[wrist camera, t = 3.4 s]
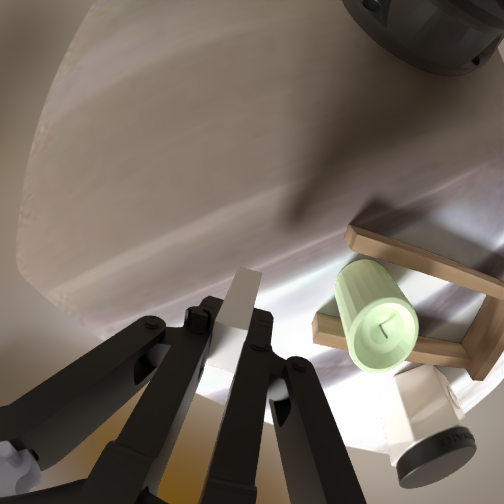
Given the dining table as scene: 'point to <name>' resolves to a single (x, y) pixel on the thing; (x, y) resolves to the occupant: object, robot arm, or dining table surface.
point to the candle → (375, 316)
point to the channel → (498, 292)
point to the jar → (424, 427)
